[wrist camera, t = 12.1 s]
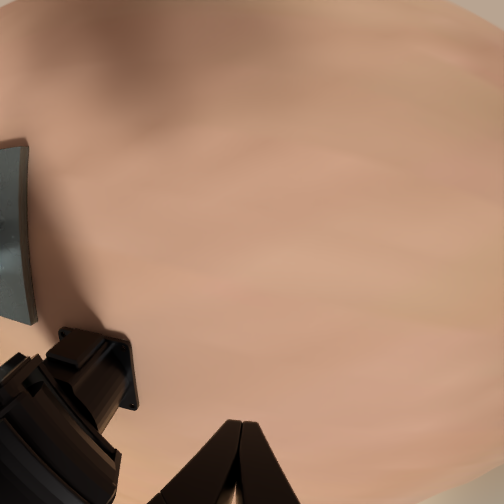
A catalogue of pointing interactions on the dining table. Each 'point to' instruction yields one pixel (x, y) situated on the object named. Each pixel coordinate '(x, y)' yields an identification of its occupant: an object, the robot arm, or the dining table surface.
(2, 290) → the square base plate
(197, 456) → the robot arm
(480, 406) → the dining table surface
